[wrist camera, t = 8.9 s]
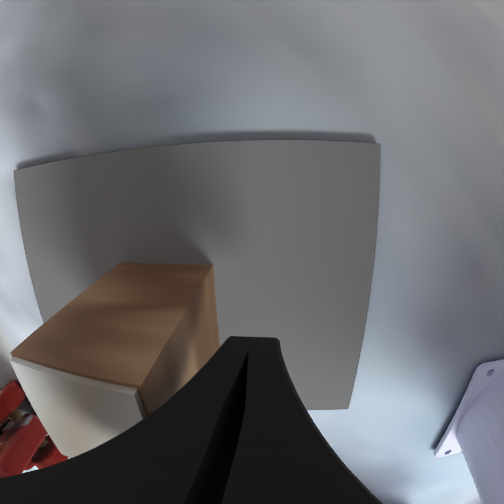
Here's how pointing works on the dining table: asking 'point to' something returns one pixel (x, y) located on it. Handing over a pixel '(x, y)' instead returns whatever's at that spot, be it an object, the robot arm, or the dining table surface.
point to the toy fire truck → (22, 436)
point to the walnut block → (118, 351)
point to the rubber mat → (224, 239)
